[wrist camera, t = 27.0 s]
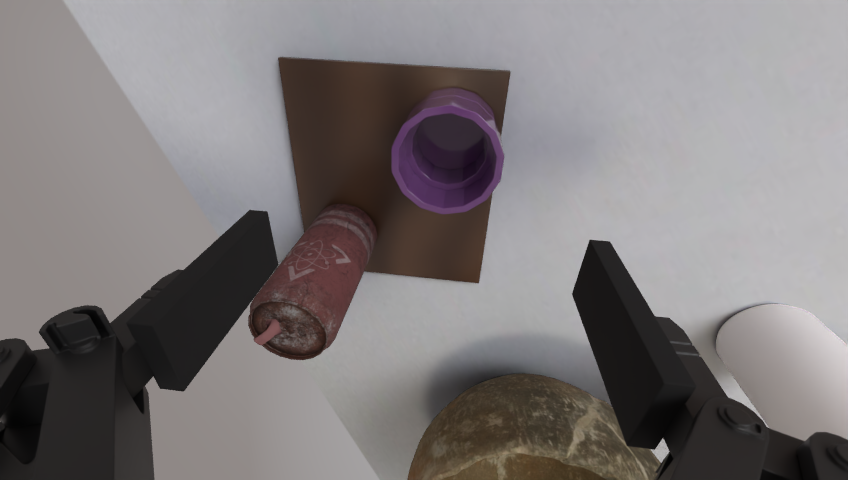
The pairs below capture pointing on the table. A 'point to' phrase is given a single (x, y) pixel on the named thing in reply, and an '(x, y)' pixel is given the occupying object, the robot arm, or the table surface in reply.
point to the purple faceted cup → (448, 152)
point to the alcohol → (788, 368)
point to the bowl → (528, 436)
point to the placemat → (381, 157)
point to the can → (314, 284)
